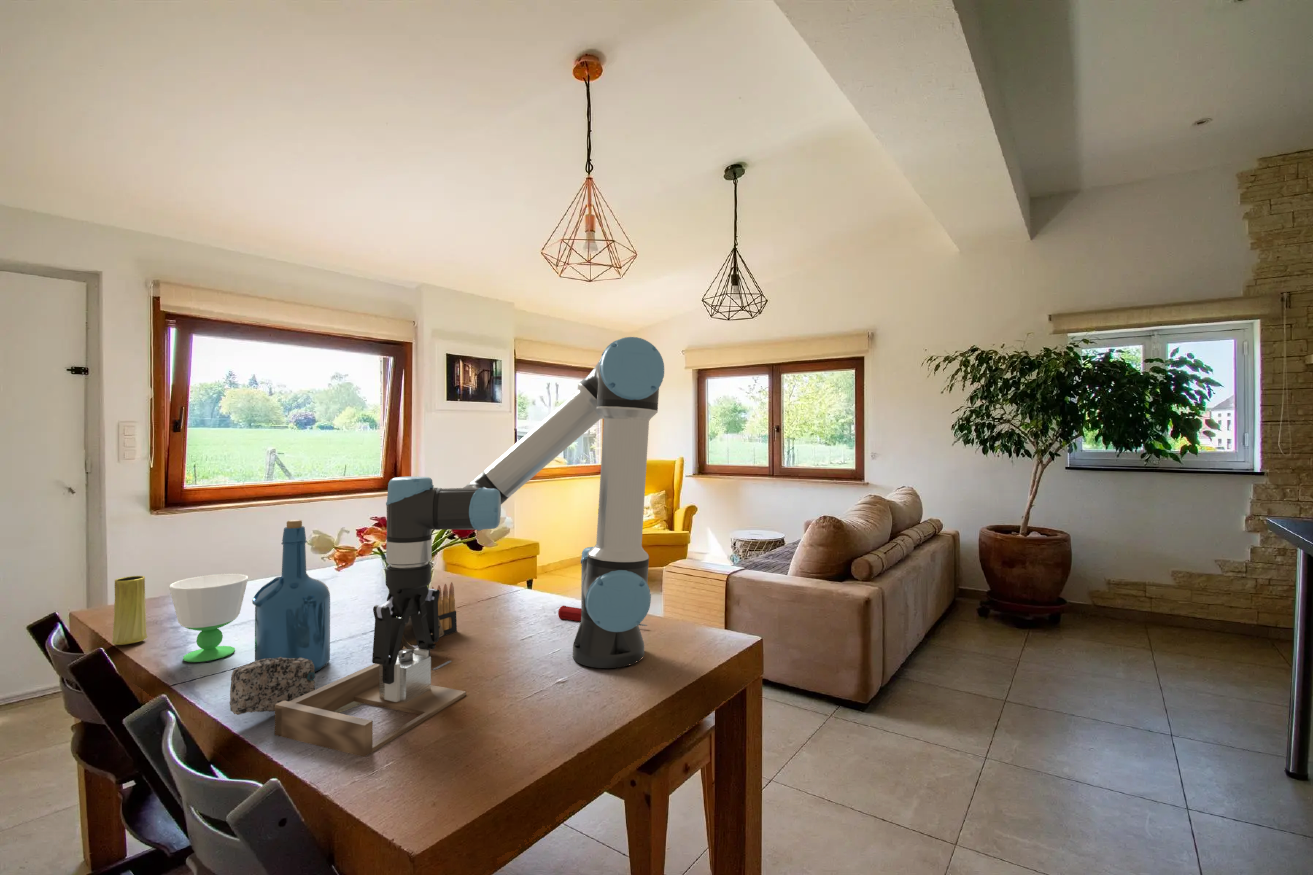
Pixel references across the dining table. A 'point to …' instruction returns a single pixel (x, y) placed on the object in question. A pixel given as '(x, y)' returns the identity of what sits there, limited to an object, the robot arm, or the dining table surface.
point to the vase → (129, 610)
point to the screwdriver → (573, 614)
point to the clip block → (410, 675)
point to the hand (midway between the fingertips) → (406, 692)
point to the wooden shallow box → (326, 727)
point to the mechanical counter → (413, 636)
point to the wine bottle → (293, 608)
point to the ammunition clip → (447, 610)
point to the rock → (270, 683)
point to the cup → (208, 610)
